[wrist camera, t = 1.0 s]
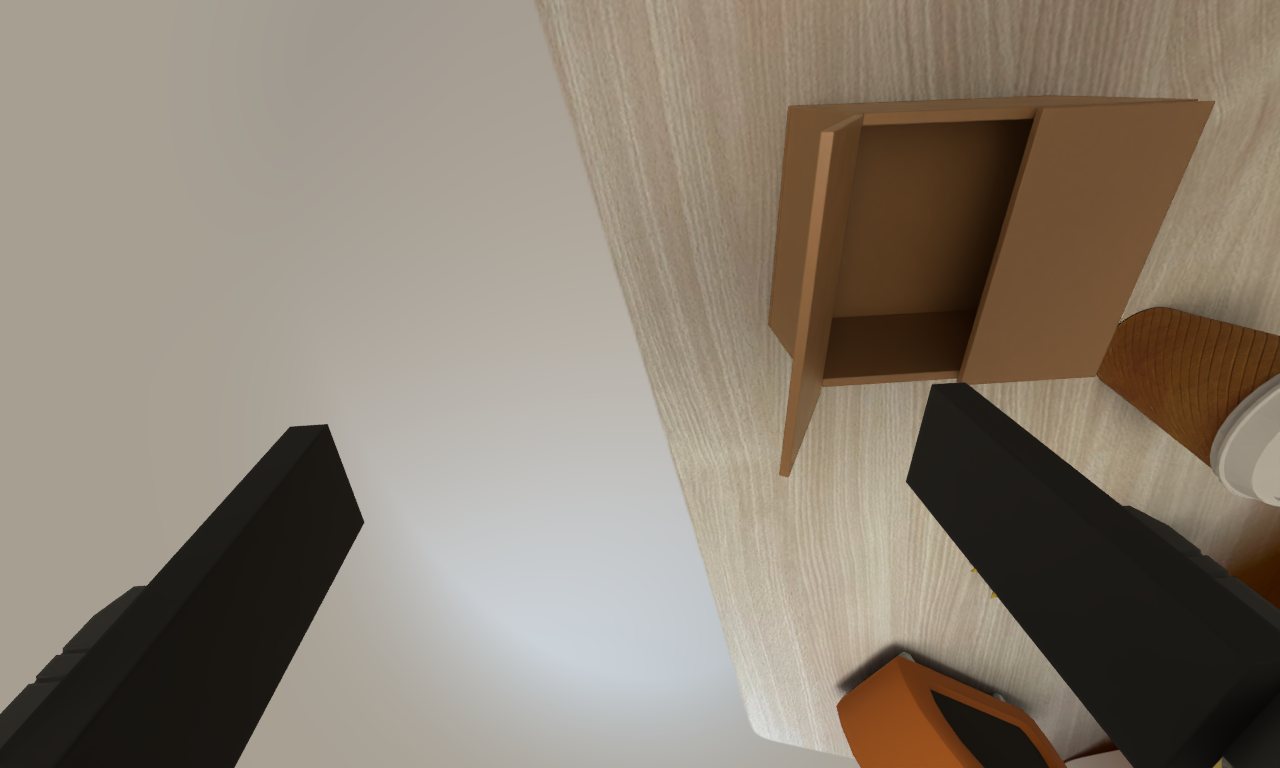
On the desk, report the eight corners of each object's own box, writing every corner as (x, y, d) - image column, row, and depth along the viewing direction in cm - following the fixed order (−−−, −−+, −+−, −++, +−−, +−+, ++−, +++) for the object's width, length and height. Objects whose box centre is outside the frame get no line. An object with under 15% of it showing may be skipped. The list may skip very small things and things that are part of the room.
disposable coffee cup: (1068, 320, 37) (1253, 412, 27) (1215, 261, 36) (1470, 334, 25) (1074, 422, 42) (1233, 536, 31) (1204, 373, 40) (1417, 474, 30)
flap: (788, 478, 22) (778, 475, 22) (820, 394, 28) (812, 392, 28) (834, 131, 16) (820, 130, 16) (863, 115, 21) (852, 115, 21)
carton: (985, 312, 36) (1096, 377, 28) (767, 325, 36) (817, 395, 28) (1051, 95, 30) (1218, 99, 22) (788, 105, 29) (860, 113, 21)
